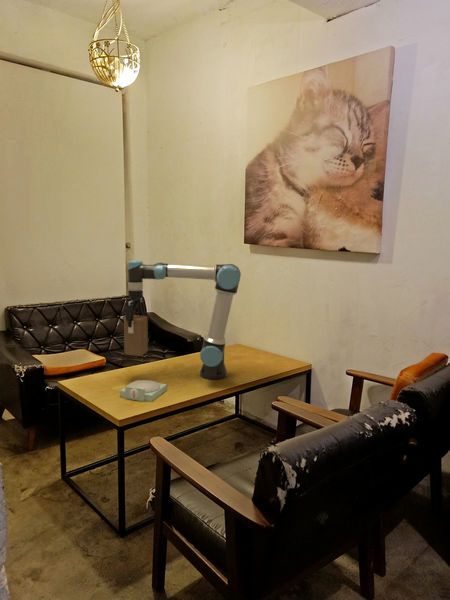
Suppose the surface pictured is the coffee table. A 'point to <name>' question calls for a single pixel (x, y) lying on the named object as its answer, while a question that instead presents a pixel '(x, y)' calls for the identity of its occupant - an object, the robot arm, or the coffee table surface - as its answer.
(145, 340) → the wooden block
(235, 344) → the coffee table surface
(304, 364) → the coffee table surface
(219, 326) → the robot arm
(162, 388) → the scale
